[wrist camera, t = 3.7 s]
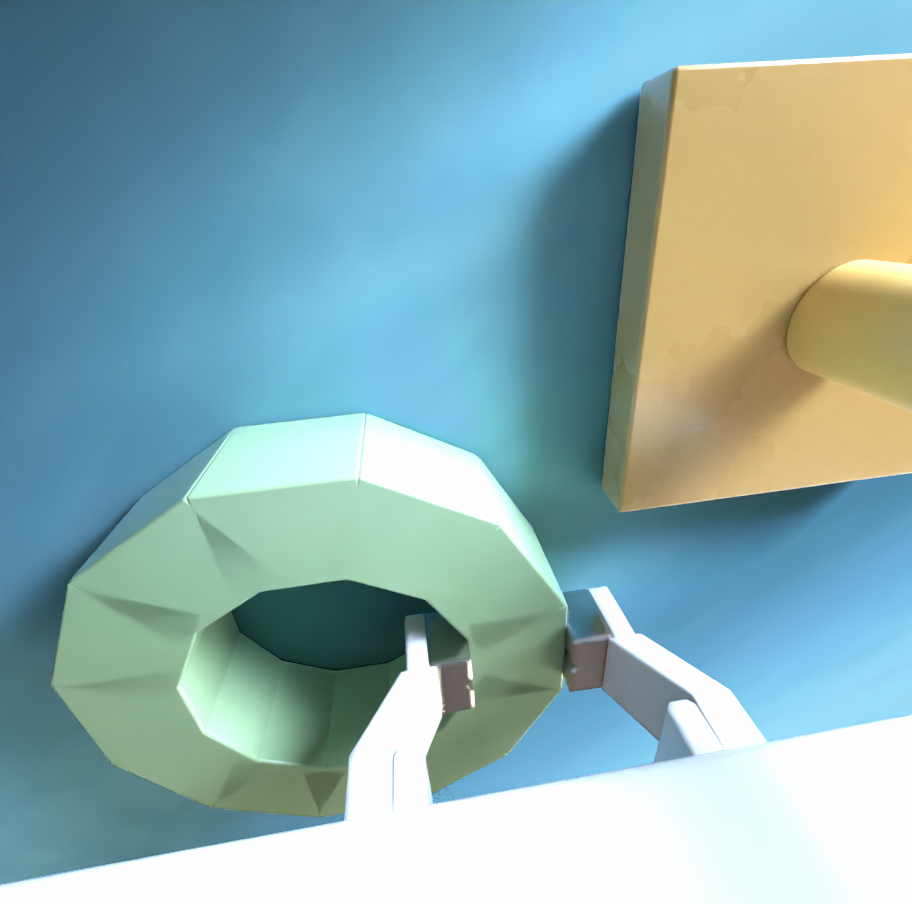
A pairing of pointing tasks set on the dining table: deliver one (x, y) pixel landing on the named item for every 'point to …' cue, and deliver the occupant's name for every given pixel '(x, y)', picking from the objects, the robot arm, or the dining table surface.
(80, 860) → the dining table surface
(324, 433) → the ring
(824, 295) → the stand
